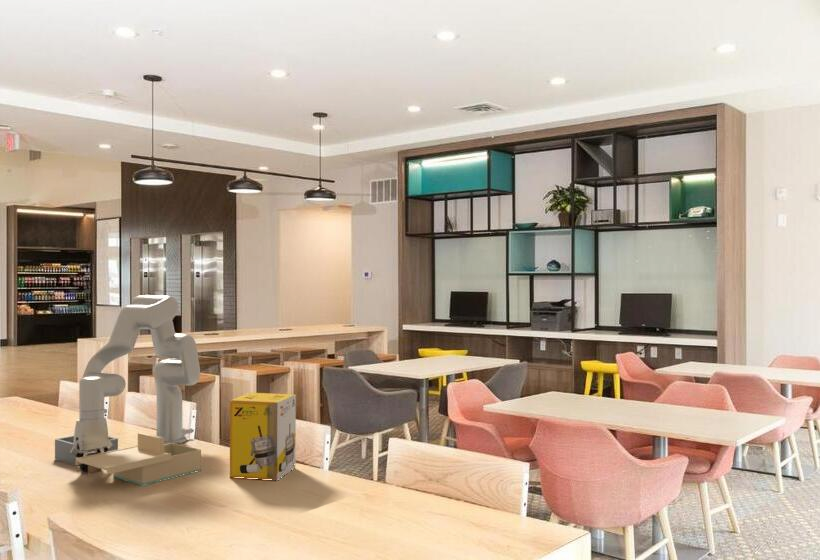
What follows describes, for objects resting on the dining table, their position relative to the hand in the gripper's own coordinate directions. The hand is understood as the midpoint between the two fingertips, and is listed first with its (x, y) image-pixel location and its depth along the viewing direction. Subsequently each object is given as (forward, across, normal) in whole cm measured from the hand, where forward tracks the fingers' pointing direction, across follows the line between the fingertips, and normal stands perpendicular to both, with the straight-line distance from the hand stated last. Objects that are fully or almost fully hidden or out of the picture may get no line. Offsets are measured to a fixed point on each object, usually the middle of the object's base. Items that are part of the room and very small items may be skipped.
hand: (91, 469), depth 250 cm
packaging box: (+1, -34, +45) cm, 56 cm away
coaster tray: (+1, -8, -17) cm, 19 cm away
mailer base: (+1, -12, +19) cm, 22 cm away
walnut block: (+1, 0, 0) cm, 1 cm away
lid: (-5, 0, +19) cm, 20 cm away
